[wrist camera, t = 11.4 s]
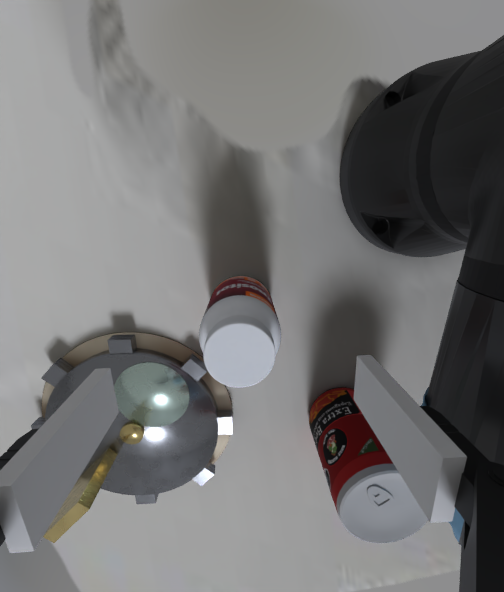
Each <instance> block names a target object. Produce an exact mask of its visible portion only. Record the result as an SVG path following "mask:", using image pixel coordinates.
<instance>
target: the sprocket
mask: <svg viewBox="0 0 504 592" xmlns="http://www.w3.org/2000/svg"><path fill="white" fill-rule="evenodd" d="M107 341H108V346H109V350H107V351H103V352H100V353H98V354H95V355H93V356H91V357H89V358H87V359H85V360H83V361H82V362H80V363H79V364H78V365H76V366H75V367H74V366H73V365H71V364H70V363H68V362H67V361H65V360H64V359H63V358H60V359H59V360H58V361H57V362H55V363H54V364H53V365H52V366H51V368H50V369H49V370H48V371H47V372H46V373H45V374H44V376H43V377H42V379H43V380H45V381H46V382H48V383H49V384H51V385H52V386H54V387H55V388H54V389H53V391H52V393H51V395H50V397H49V400H48V403H47V406H46V413H45V417H40V418H38V419H37V420H36V421H35V422H34V423H33V424H32V425H31V427H32V429H39V428H40V427H41V426H42V425H43V424H44V423H45V422H46V421H47V420H48V419H49V418H50V417H51V416H52V415H53V414H54V412H55V411H56V410H57V409H58V408H59V407H60V406H61V405H62V404H63V403H64V402H65V401H66V400H67V399H68V397H69V396H70V395H71V394H72V393H73V392H74V391H75V390H76V389H77V388H78V387H79V386H80V385H81V384H82V383H83V381H84V380H85V379H86V378H87V377H88V376H89V375H90V374H91V373H92V372H93V371H94V370H95V369H100V368H110V369H111V375H112V380H113V385H114V390H115V395H116V400H117V405H118V410H119V413H118V415H117V416H116V418H115V420H114V421H113V423H112V424H111V426H110V428H109V429H108V431H107V433H106V434H105V436H104V438H103V439H102V441H101V443H100V444H99V446H98V447H97V449H96V451H95V452H94V454H93V456H92V457H91V459H90V461H89V462H88V464H87V466H86V467H85V469H84V470H83V472H82V474H81V475H80V477H79V479H78V480H77V482H76V484H75V485H74V487H73V488H72V490H71V492H70V493H69V495H68V497H67V498H66V500H65V502H64V503H63V505H62V507H61V508H60V510H59V511H58V513H57V515H56V516H55V518H54V520H53V521H52V523H51V525H50V526H49V528H48V529H47V531H46V533H45V534H44V536H43V537H44V538H46V539H48V540H49V541H51V542H53V543H55V542H56V541H57V540H58V539H59V538H60V537H61V536H62V535H63V534H64V533H65V532H66V531H67V530H68V529H69V528H70V527H71V526H72V525H73V524H74V523H75V522H77V521H78V520H79V519H80V518H81V517H82V516H83V515H84V514H85V513H86V512H87V511H88V510H89V509H90V507H91V505H92V503H93V501H94V499H95V497H96V495H97V493H98V492H99V490H100V488H101V489H104V490H107V491H111V492H115V493H120V494H127V495H135V497H136V503H137V504H150V503H156V500H157V497H158V494H159V493H162V492H166V491H169V490H172V489H175V488H177V487H179V486H182V485H184V484H185V483H187V482H189V481H190V480H194V481H195V482H197V483H198V484H200V485H201V486H202V485H203V484H204V483H205V482H207V481H208V480H209V479H210V478H211V477H212V476H213V475H214V473H215V465H214V464H212V463H211V462H209V461H210V459H211V457H212V455H213V453H214V451H215V448H216V445H217V439H218V435H220V434H233V417H232V410H218V407H217V404H216V401H215V398H214V396H213V394H212V392H211V390H210V389H209V387H208V386H207V384H206V383H205V381H204V380H203V379H202V378H201V377H202V376H203V375H204V374H205V373H206V372H207V368H206V366H205V363H204V362H203V361H201V360H200V359H199V358H198V357H196V356H195V355H194V354H193V353H192V354H191V355H190V356H189V357H188V358H187V359H186V360H185V361H184V362H181V361H179V360H177V359H176V358H174V357H172V356H169V355H166V354H164V353H161V352H157V351H154V350H149V349H142V348H137V344H136V338H135V334H133V335H113V336H111V337H110V338H109V339H108V340H107Z"/></svg>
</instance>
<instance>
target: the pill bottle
mask: <svg viewBox="0 0 504 592" xmlns="http://www.w3.org/2000/svg"><path fill="white" fill-rule="evenodd" d="M199 342H200V346H201V349H202V352H203V358H204V363H205V366H206V368H207V370H208V372H209V373H210V375H211V376H212V377H213V378H214V379H215V380H217V381H218V382H220V383H222V384H224V385H226V386H230V387H236V388H242V387H248V386H252V385H254V384H256V383H258V382H260V381H262V380H263V379H264V378H265V377H266V376H267V375H268V374H269V373H270V371H271V369H272V367H273V365H274V362H275V356H276V353H277V351H278V349H279V346H280V342H281V329H280V324H279V321H278V318H277V315H276V312H275V308H274V305H273V302H272V299H271V296H270V294H269V292H268V290H267V289H266V288H265V286H264V285H263V284H262V283H260V282H259V281H258V280H256V279H254V278H251V277H247V276H235V277H231V278H229V279H226V280H225V281H223V282H222V283H220V284H219V285H218V286H217V288H216V289H215V290H214V292H213V294H212V296H211V299H210V301H209V304H208V306H207V309H206V311H205V314H204V316H203V319H202V322H201V325H200V329H199Z"/></svg>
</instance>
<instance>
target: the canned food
mask: <svg viewBox="0 0 504 592" xmlns="http://www.w3.org/2000/svg"><path fill="white" fill-rule="evenodd" d="M309 424H310V429H311V432H312V435H313V438H314V441H315V445H316V448H317V451H318V454H319V457H320V460H321V463H322V467H323V470H324V473H325V476H326V479H327V482H328V486H329V489H330V492H331V495H332V498H333V501H334V503H335V507H336V510H337V513H338V515H339V517H340V520H341V522H342V524H343V526H344V527H345V529H346V530H347V531H348V532H349V533H350V534H352V535H353V536H354V537H356V538H358V539H360V540H363V541H367V542H372V543H389V542H395V541H398V540H401V539H404V538H406V537H409V536H411V535H412V534H414V533H415V532H417V531H418V530H420V529H421V528H422V527H423V526H424V525H425V524H426V522H427V521H428V519H427V517H426V515H425V514H424V512H423V510H422V509H421V507H420V506H419V504H418V502H417V501H416V499H415V498H414V496H413V494H412V493H411V491H410V490H409V488H408V486H407V485H406V483H405V481H404V480H403V478H402V477H401V475H400V473H399V472H398V470H397V469H396V467H395V465H394V464H393V462H392V460H391V459H390V457H389V456H388V454H387V452H386V451H385V449H384V448H383V446H382V444H381V443H380V441H379V439H378V438H377V436H376V435H375V433H374V431H373V430H372V428H371V427H370V425H369V423H368V422H367V420H366V419H365V417H364V415H363V414H362V412H361V410H360V409H359V407H358V406H357V404H356V402H355V401H354V389H351V388H335V389H331V390H329V391H326V392H325V393H323V394H321V395H320V396H319V397H318V398H317V399H316V400H315V402H314V403H313V405H312V407H311V410H310V417H309Z"/></svg>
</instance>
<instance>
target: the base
mask: <svg viewBox="0 0 504 592" xmlns="http://www.w3.org/2000/svg"><path fill="white" fill-rule="evenodd" d="M133 334H135V338H136V344H137V348H142V349H149V350H154V351H157V352H161V353H164V354H166V355H169V356H172V357H174V358H176V359H177V360H179V361H181V362H184V361H185V360H186V359H187V358H188V357H189V356H190V355H191V354H192V353H193V354H194V355H195V356H196V357H198V358H199V359H200V360H201V361H203V362H204V359H203V358H202V357H201V356H200V355H198V354H197V353H195V352H194V351H193V350H191V349H190V348H188V347H186V346H184V345H182V344H180V343H178V342H176V341H173V340H170V339H168V338H165V337H161V336H157V335H153V334H146V333H139V332H123V333H113V334H108V335H104V336H100V337H97V338H94V339H91V340H89V341H86V342H85V343H83V344H81V345H79V346H77V347H76V348H74V349H73V350H72V351H70V352H69V353H68V354H66V355H65V356H64V357H63V359H64V360H65V361H67V362H68V363H70V364H71V365H73V366H74V367H75V366H76V365H78V364H79V363H80V362H82V361H83V360H85V359H87V358H89V357H91V356H93V355H95V354H98V353H100V352H103V351H107V350H109V346H108V341H107V340H108V339H109V338H110V337H111V336H113V335H133ZM201 378H202V379H203V380H204V381H205V383H206V384H207V386H208V387H209V389H210V390H211V392H212V394H213V396H214V398H215V401H216V404H217V407H218V410H232V405H231V400H230V397H229V394H228V391H227V389H226V387H225V385H224V384H222V383H220V382H218V381H217V380H215V379H214V378H213V377H212V376H211V375H210V373H209V372H208V370H207V372H206V373H205V374H204V375H203V376H202V377H201ZM54 388H55V387H54V386H52V385H51V384H49V383H48V382H46V384H45V387H44V391H43V396H42V415H43V417H45V413H46V406H47V403H48V400H49V397H50V395H51V393H52V391H53V389H54ZM232 417H233V412H232ZM229 437H230V434H220V435H218V439H217V445H216V448H215V451H214V453H213V455H212V457H211V459H210V461H209V462H211V463H212V464H214V463H215V462H216V461H217V459H218V458H219V457H220V455H221V454H222V453H223V451H224V449H225V447H226V445H227V443H228V440H229Z"/></svg>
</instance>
